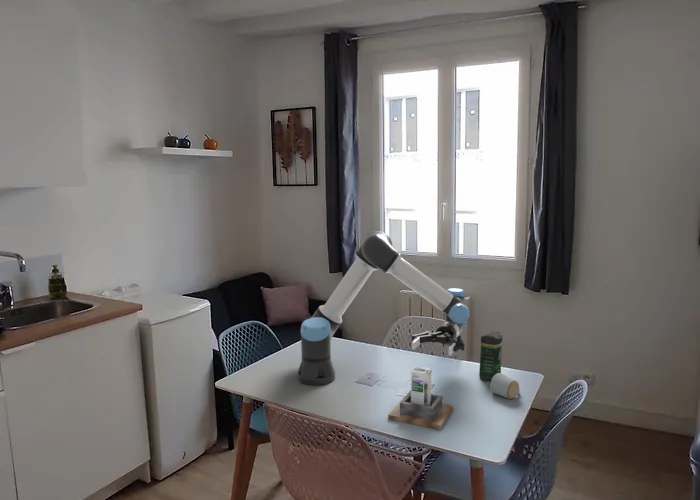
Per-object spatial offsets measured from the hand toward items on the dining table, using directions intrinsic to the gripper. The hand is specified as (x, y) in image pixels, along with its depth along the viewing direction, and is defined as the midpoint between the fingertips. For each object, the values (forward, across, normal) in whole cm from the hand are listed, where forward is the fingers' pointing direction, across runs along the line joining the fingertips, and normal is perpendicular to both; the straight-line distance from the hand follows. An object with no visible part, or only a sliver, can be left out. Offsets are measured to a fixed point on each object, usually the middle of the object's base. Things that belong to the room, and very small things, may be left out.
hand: (431, 348), depth 191 cm
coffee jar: (-30, -16, -18) cm, 38 cm away
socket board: (+13, -2, -19) cm, 23 cm away
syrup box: (+13, -1, -18) cm, 22 cm away
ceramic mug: (-15, -25, -19) cm, 35 cm away
